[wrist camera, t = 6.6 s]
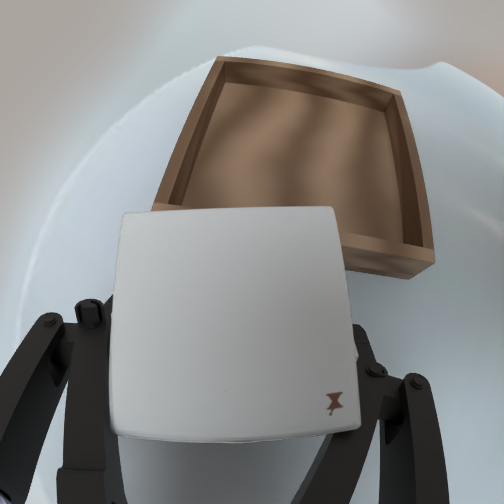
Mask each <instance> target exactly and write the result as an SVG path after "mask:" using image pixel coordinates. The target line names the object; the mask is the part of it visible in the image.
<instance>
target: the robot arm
mask: <svg viewBox="0 0 504 504" xmlns="http://www.w3.org/2000/svg"><path fill="white" fill-rule="evenodd" d="M74 308H75V313H76V317H77V322H78V323H63V319H62V316H61V315H60V314H58V313H53V312H50V313H45V314H43V315H41V316H40V317H39V318H38V319H37V321H36V322H35V324H34V325H33V326H32V328H31V329H30V331H29V332H28V334H27V335H26V337H25V338H24V340H23V341H22V343H21V344H20V346H19V347H18V349H17V350H16V352H15V353H14V355H13V356H12V358H11V360H10V361H9V363H8V364H7V366H6V368H5V369H4V371H3V373H2V374H1V376H0V504H25V501H26V499H27V496H28V493H29V489H30V486H31V483H32V479H33V475H34V472H35V469H36V465H37V462H38V459H39V456H40V453H41V449H42V446H43V443H44V441H45V438H46V435H47V432H48V429H49V426H50V424H51V421H52V418H53V416H54V413H55V411H56V408H57V405H58V403H59V400H60V398H61V396H62V393H63V391H64V388H65V386H66V384H67V381H68V388H67V397H66V407H65V421H64V441H63V466H62V467H61V468H59V469H58V471H57V477H56V484H57V504H128V503H127V500H126V497H125V492H124V486H123V479H122V472H121V465H120V457H119V447H118V437H117V434H114V433H113V432H112V431H111V428H110V408H109V358H110V335H111V320H112V308H113V295H112V296H111V297H110V298H109V299H108V300H107V302H105V304H104V305H103V303H102V302H101V301H99V300H97V299H85V300H82V301H80V302H78V303H77V304H76V306H75V307H74ZM352 327H353V338H354V347H355V356H356V365H357V376H358V388H359V400H360V414H361V426H360V427H359V428H357V429H354V430H348V431H342V432H336V433H330V434H327V435H326V437H325V439H324V441H323V443H322V445H321V447H320V450H319V452H318V454H317V456H316V458H315V460H314V462H313V464H312V465H311V467H310V469H309V471H308V473H307V475H306V477H305V479H304V481H303V482H302V484H301V486H300V488H299V490H298V491H297V493H296V495H295V497H294V498H293V500H292V502H291V503H290V504H349V502H350V500H351V497H352V495H353V492H354V490H355V487H356V485H357V482H358V479H359V477H360V474H361V471H362V468H363V465H364V462H365V459H366V456H367V453H368V450H369V447H370V444H371V440H372V437H373V434H374V430H375V427H376V423H377V420H378V419H379V421H380V487H379V504H450V503H449V491H448V481H447V472H446V465H445V458H444V451H443V445H442V439H441V433H440V428H439V423H438V418H437V413H436V409H435V404H434V400H433V395H432V391H431V387H430V384H429V382H428V380H427V379H426V378H425V377H424V376H422V375H420V374H417V373H409V374H407V375H406V376H405V378H404V379H403V380H402V379H399V378H395V377H392V376H389V375H388V372H387V370H386V369H385V367H383V366H382V365H381V364H379V363H377V362H376V360H375V357H374V354H373V351H372V348H371V346H370V343H369V340H368V337H367V335H366V332H365V330H364V329H363V328H362V327H361V326H360V325H357V324H352Z"/></svg>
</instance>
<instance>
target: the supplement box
mask: <svg viewBox="0 0 504 504" xmlns="http://www.w3.org/2000/svg"><path fill="white" fill-rule="evenodd" d="M109 408H110V428H111V431H112V432H113V433H114V434H117V435H119V436H123V437H132V438H138V439H147V440H160V441H173V442H192V443H253V442H261V441H274V440H285V439H294V438H302V437H310V436H318V435H324V434H330V433H336V432H342V431H348V430H354V429H357V428H359V427H360V426H361V414H360V400H359V388H358V376H357V365H356V356H355V347H354V338H353V327H352V318H351V310H350V302H349V294H348V287H347V280H346V274H345V268H344V261H343V255H342V249H341V243H340V238H339V232H338V227H337V222H336V217H335V213H334V210H333V208H332V207H331V206H292V207H239V208H212V209H190V210H168V211H150V212H135V213H125V214H124V215H123V217H122V225H121V231H120V238H119V245H118V253H117V262H116V272H115V282H114V293H113V308H112V320H111V335H110V358H109Z"/></svg>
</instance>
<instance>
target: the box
mask: <svg viewBox="0 0 504 504" xmlns="http://www.w3.org/2000/svg"><path fill="white" fill-rule="evenodd" d="M292 206H331V207H332V208H333V210H334V213H335V217H336V222H337V227H338V232H339V238H340V243H341V249H342V255H343V261H344V268H345V270H351V271H357V272H364V273H370V274H376V275H383V276H389V277H396V278H402V279H408V280H409V279H411V278H412V277H414V276H415V275H417V274H418V273H420V272H422V271H423V270H425V269H426V268H428V267H429V266H431V265H432V264H434V263H435V256H434V245H433V236H432V228H431V220H430V213H429V206H428V200H427V194H426V189H425V184H424V178H423V173H422V169H421V164H420V160H419V155H418V151H417V147H416V143H415V139H414V135H413V132H412V128H411V125H410V121H409V118H408V114H407V111H406V108H405V105H404V101H403V98H402V95H401V92H400V91H398V90H395V89H392V88H389V87H386V86H383V85H380V84H376V83H373V82H369V81H366V80H362V79H359V78H355V77H351V76H347V75H343V74H339V73H335V72H330V71H326V70H321V69H316V68H311V67H306V66H300V65H295V64H288V63H282V62H275V61H267V60H259V59H249V58H238V57H224V56H217V58H216V60H215V62H214V64H213V66H212V68H211V70H210V72H209V74H208V76H207V78H206V80H205V82H204V84H203V86H202V88H201V90H200V92H199V94H198V96H197V98H196V100H195V102H194V105H193V107H192V109H191V111H190V113H189V116H188V118H187V120H186V122H185V125H184V127H183V129H182V131H181V134H180V136H179V138H178V141H177V143H176V146H175V148H174V151H173V153H172V155H171V158H170V160H169V163H168V166H167V168H166V171H165V173H164V176H163V179H162V181H161V184H160V187H159V189H158V192H157V195H156V198H155V200H154V203H153V206H152V209H151V211H168V210H190V209H212V208H239V207H292Z"/></svg>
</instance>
